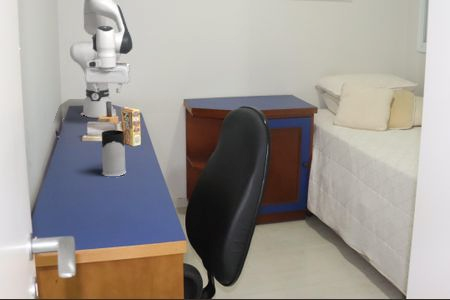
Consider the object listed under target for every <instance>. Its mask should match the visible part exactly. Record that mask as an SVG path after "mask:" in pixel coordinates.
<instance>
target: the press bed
mask: <svg viewBox="0 0 450 300" xmlns="http://www.w3.org/2000/svg"><path fill="white" fill-rule="evenodd" d="M86 125H87V126H86V127H87V128H86V129H87V131H86V133H84V135H83V136H82V137H81V141H82V142H102V132H104V131H108V130H119V131H122V125H121V121H119V123H118V124H117V129H116V122H97V121H87V123H86Z"/></svg>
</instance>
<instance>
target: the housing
mask: <svg viewBox="0 0 450 300" xmlns="http://www.w3.org/2000/svg"><path fill="white" fill-rule="evenodd" d="M96 122H111V121H110V119H99V118H98V120H97V121H96Z"/></svg>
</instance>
